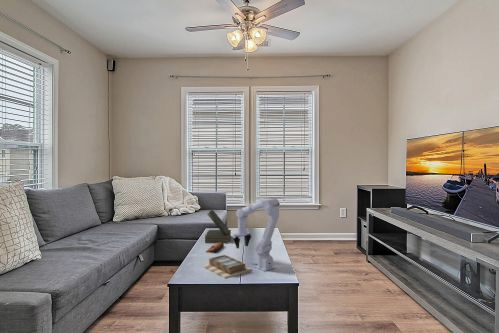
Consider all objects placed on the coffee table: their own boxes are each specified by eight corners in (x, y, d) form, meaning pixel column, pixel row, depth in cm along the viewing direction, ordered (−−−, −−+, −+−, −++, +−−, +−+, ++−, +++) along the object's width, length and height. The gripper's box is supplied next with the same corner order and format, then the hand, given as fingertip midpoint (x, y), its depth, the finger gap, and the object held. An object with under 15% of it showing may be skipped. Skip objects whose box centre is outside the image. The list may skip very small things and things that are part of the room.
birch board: (251, 270, 180) (251, 268, 180) (224, 278, 167) (224, 276, 167) (228, 260, 198) (228, 258, 198) (202, 266, 185) (202, 265, 185)
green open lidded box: (228, 243, 239) (228, 213, 239) (204, 243, 240) (204, 213, 240) (230, 236, 262) (230, 208, 262) (209, 236, 263) (209, 208, 262)
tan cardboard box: (245, 269, 178) (245, 263, 178) (229, 274, 170) (229, 268, 170) (224, 260, 195) (224, 254, 195) (209, 263, 187) (209, 258, 187)
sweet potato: (213, 245, 233) (217, 238, 232) (221, 250, 231) (225, 243, 230) (205, 252, 215) (209, 244, 214) (212, 257, 214) (217, 250, 213)
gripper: (246, 224, 204) (246, 243, 204) (229, 227, 195) (229, 247, 195) (253, 226, 198) (253, 246, 199) (236, 229, 189) (236, 250, 189)
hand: (242, 247), depth 196 cm, fingers open, 7 cm apart
